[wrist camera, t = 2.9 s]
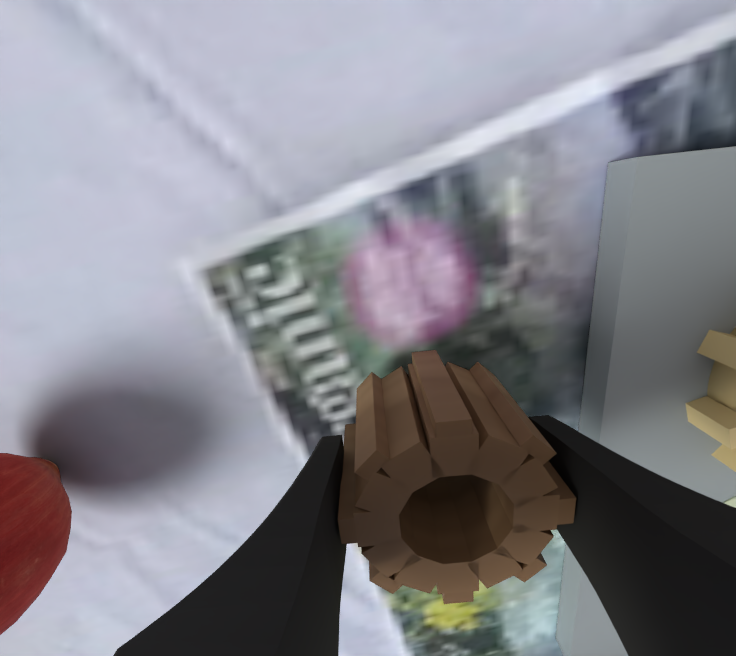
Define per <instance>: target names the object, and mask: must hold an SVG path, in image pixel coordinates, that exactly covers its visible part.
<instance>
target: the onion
mask: <svg viewBox="0 0 736 656" xmlns="http://www.w3.org/2000/svg"><path fill="white" fill-rule="evenodd" d="M71 514H72V511H71V506H70V502H69V497H68V495H67V493H66V491H65V489H64V487H63V485H62V483H61V479H60V472H59V469H58V467H57V466H56V464H54V463H53V462H51V461H49V460H45V459H42V458H37V457H24V456H19V455H13V454H8V453H0V635H1V634H2V633H3V632H4V631H6V630H7V629H8V628H9V627H10V626H12V625H13V624H14V623H15V622H16V621H17V620H18V619H19V618H20V617H21V615H22V614H23V613H24V612H25V611H26V610H27V609H28V607H29V606H30V605H31V604H32V603H33V602H34V601H35V600H36V598H37V597H38V596H39V595H40V593H41V592H42V590H43V589H44V587H45V586H46V584H47V583H48V581H49V580H50V578H51V577H52V575H53V573H54V572H55V570H56V568H57V566H58V565H59V563H60V561H61V560H62V558H63V556H64V555H65V553H66V550H67V545H68V539H69V534H70V529H71Z"/></svg>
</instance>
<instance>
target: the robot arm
mask: <svg viewBox="0 0 736 656" xmlns="http://www.w3.org/2000/svg"><path fill="white" fill-rule="evenodd" d="M528 418H529V419H530V420H531V422H532V423H533V424H534V426H535V427H536V428H537V429H538V431H539V432H540V433H541V434H542V436H543V437H544V438H545V439H546V441H547V442H548V443H549V444H550V446H551V447H552V448H553V449H554V451H555V452H556V453H557V454H556V455H554V456H553V457H552V458H551V459H550V460H549V462H550V463H551V465H552V466H553V467H554V469H555V470H556V471H557V473H558V474H559V475H560V477H561V478H562V479H563V481H564V482H565V484H566V485H567V486H568V488H569V489H570V490H571V492H572V493H573V494H574V496H575V497H576V505H575V514H574V522H573V523H571V524H560V525H557V530H558V531H559V533H560V534H561V536H562V538H563V539H564V541H565V542H566V544H567V546H568V547H569V549H570V550H571V552H572V554H573V555H574V557H575V558H576V560H577V562H578V563H579V565H580V566H581V568H582V569H583V571H584V573H585V574H586V576H587V578H588V579H589V581H590V583H591V585H592V586H593V588H594V590H595V591H596V593H597V595H598V597H599V599H600V601H601V603H602V605H603V607H604V609H605V610H606V612H607V614H608V616H609V618H610V620H611V622H612V624H613V626H614V628H615V630H616V632H617V634H618V636H619V638H620V640H621V642H622V644H623V646H624V648H625V650H626V652H627V654H628V656H736V508H735V507H732V506H730V505H727V504H725V503H722V502H720V501H717V500H715V499H712V498H710V497H707V496H705V495H703V494H700V493H698V492H696V491H694V490H691V489H689V488H687V487H684V486H682V485H680V484H678V483H675V482H673V481H671V480H669V479H667V478H665V477H662V476H660V475H658V474H656V473H654V472H652V471H650V470H648V469H646V468H644V467H642V466H640V465H638V464H636V463H634V462H632V461H631V460H629V459H627V458H625V457H623V456H621V455H619V454H617V453H615V452H614V451H612V450H610V449H608V448H606V447H605V446H603V445H601V444H599V443H597V442H596V441H594V440H592V439H590V438H589V437H587V436H585V435H583V434H582V433H580V432H578V431H576V430H575V429H573V428H571V427H569V426H567V425H566V424H564V423H562V422H560V421H558V420H557V419H555V418H553V417H551V416H549V415H545V416H534V417H528ZM343 460H344V447H343V440H342V435H336V436H326V437H322V438H321V439H320V441H319V442H318V444H317V446H316V448H315V449H314V451H313V453H312V455H311V456H310V458H309V459H308V461H307V463H306V464H305V466H304V467H303V469H302V470H301V472H300V473H299V475H298V476H297V478H296V479H295V481H294V482H293V484H292V485H291V487H290V488H289V489H288V491H287V492H286V493H285V495H284V496H283V497H282V499H281V500H280V501H279V503H278V504H277V505H276V507H275V508H274V509H273V511H272V512H271V513H270V514H269V515H268V517H267V518H266V519H265V520H264V521H263V523H262V524H261V525H260V526H259V527H258V528H257V529H256V531H255V532H254V533H253V534H252V535H251V536H250V537H249V538H248V539H247V540H246V541H245V542H244V543H243V545H242V546H241V547H240V548H239V549H238V550H237V551H236V552H235V553H234V554H233V555H232V556H231V557H230V558H229V559H227V560H226V561H225V562H224V563H223V564H222V565H221V566H220V567H219V568H218V569H217V570H216V571H215V572H214V573H213V574H212V575H211V576H209V577H208V578H207V579H206V580H205V581H204V582H203V583H201V584H200V585H199V586H198V587H197V588H196V589H194V590H193V591H192V592H191V593H190V594H189V595H187V596H186V597H185V598H184V599H183V600H181V601H180V602H179V603H178V604H176V605H175V606H174V607H173V608H171V609H170V610H169V611H168V612H166V613H165V614H164V615H162V616H161V617H160V618H158V619H157V620H156V621H154V622H153V623H152V624H150V625H149V626H148V627H147V628H145V629H144V630H143V631H141V632H140V633H139V634H137V635H136V636H135V637H133V638H132V639H131V640H129V641H128V642H127V643H125V644H124V645H122V646H121V647H120V648H118V649H117V651H116V652H115V654H114V656H338V644H339V614H340V600H341V590H342V581H343V572H344V563H345V554H346V545H347V544H342V542H341V536H340V530H339V524H338V510H339V498H340V485H341V479H342V473H343Z"/></svg>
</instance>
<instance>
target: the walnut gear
mask: <svg viewBox="0 0 736 656" xmlns="http://www.w3.org/2000/svg"><path fill="white" fill-rule="evenodd" d="M408 373H409V376H408V374H407V373H406V372H405V370H404V369H403V368H402V366H401V367H399V368H398V369H396V370H395V371H393V372H392V373H390V374H389V375H387V376H385V377H384V378H382V379H381V378H379V377H378V376H377V375H375V374H374V373H373V372H371V374H370V375H369V376H368V377H367V378H366V379H365V380H364V381H363V383H362V384H361V385H360V386H359V387H358V388H357V404H356V424H346V425H345V435H344V460H343V473H342V479H341V485H340V498H339V510H338V524H339V530H340V536H341V542H342V544H349V543H358V547H362V554H363V555H364V556H365V557H366V558H367V559H368V560H369V573H370V581H371V582H373V583H375V584H376V585H378V586H380V587H382V588H383V589H385V590H387V591H389V592H390V593H392V594H393V593H394V592H395V591H397V590H398V589H399V588H400V587H401V586H402V585H404V586H407V587H411V588H414V589H417V590H420V591H424V592H427V593H430V592H431V591H432V589H433V588H434V587H435V585H436V586H437V591H438V594H442V596H443V601H444V604H449V603H461V602H472V601H473V591H479V580H480V581H481V582H482V583H483V584H484V585H485V586H486V588H489V587H491V586H493V585H495V584H497V583H499V582H501V581H503V580H505V579H507V578H509V577H511V576H515V577H517V578H519V579H520V580H522V581H523V582H526V581H527V580H528V579H530V578H531V577H532V576H533V575H535V574H536V573H537V572H539V571H540V570H541V569H543V568H544V567H545V566H547V564H546V562H545V560H544V558H543V556H542V554H541V551H542V550H543V549H544V548H545V547H546V545H547V544H548V543H549V542H550V540H551V539H552V538H553V537H554V536H553V534H552V532H551V531H550V530H555V529H557V525H560V524H571V523H573V522H574V514H575V505H576V497H575V496H574V494H573V493H572V492H571V490H570V489H569V488H568V486H567V485H566V484H565V482H564V481H563V479H562V478H561V477H560V475H559V474H558V473H557V471H556V470H555V469H554V467H553V466H552V465H551V463H550V462H549V460H550V459H551V458H552V457H553V456H554V455H556V454H557V453H556V452H555V451H554V449H553V448H552V447H551V446H550V444H549V443H548V442H547V441H546V439H545V438H544V437H543V436H542V434H541V433H540V432H539V431H538V429H537V428H536V427H535V426H534V424H533V423H532V422H531V420H530V419H529V418H528V417H527V415H526V414H525V413H524V412H523V410H522V409H521V408H520V407H519V405H518V404H517V403H516V402H515V400H514V399H513V398H512V397H511V395H510V394H509V393H508V392H507V390H506V389H505V388H504V387H503V385H502V384H501V383H500V382H499V380H498V379H497V378H496V377H495V375H494V374H492V373H491V372H490V371H489V370H487V369H486V368H485V367H484V366H482V365H481V364H480V363H479V362H477V363H476V364H475V365H474V366H473V367H472V368H471V369H470V370H466V369H464V368H462V367H459V366H457V365H455V364H452V363H450V362H447V364H446V365H445V366H444V364H443V363H442V361H441V359H440V357H439V355H438V353H437V351H436V350H430V351H420V352H412V364H408Z"/></svg>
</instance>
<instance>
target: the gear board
mask: <svg viewBox="0 0 736 656" xmlns="http://www.w3.org/2000/svg"><path fill="white" fill-rule="evenodd" d="M578 432H580V433H582V434H583V435H585V436H587V437H589V438H590V439H592V440H594V441H596V442H597V443H599V444H601V445H603V446H605V447H606V448H608V449H610V450H612V451H614V452H615V453H617V454H619V455H621V456H623V457H625V458H627V459H629V460H631V461H632V462H634V463H636V464H638V465H640V466H642V467H644V468H646V469H648V470H650V471H652V472H654V473H656V474H658V475H660V476H662V477H665V478H667V479H669V480H671V481H673V482H675V483H678V484H680V485H682V486H684V487H687V488H689V489H691V490H694V491H696V492H698V493H700V494H703V495H705V496H707V497H710V498H712V499H715V500H717V501H720V502H722V503H725V504H727V505H730V506H732V507H735V508H736V146H734V147H725V148H716V149H707V150H698V151H689V152H679V153H670V154H661V155H652V156H643V157H635V158H630V159H624V160H619V161H614V162H608V169H607V178H606V187H605V196H604V205H603V214H602V223H601V232H600V241H599V250H598V259H597V268H596V277H595V286H594V295H593V304H592V313H591V322H590V331H589V340H588V349H587V358H586V367H585V376H584V385H583V394H582V403H581V412H580V421H579V430H578ZM555 638H556V640H557V642H558V644H559V647H560V649H561V651H562V653H563V656H628V654H627V652H626V650H625V648H624V646H623V644H622V642H621V640H620V638H619V636H618V634H617V632H616V630H615V628H614V626H613V624H612V622H611V620H610V618H609V616H608V614H607V612H606V610H605V609H604V607H603V605H602V603H601V601H600V599H599V597H598V595H597V593H596V591H595V590H594V588H593V586H592V585H591V583H590V581H589V579H588V578H587V576H586V574H585V573H584V571H583V569H582V568H581V566H580V565H579V563H578V562H577V560H576V558H575V557H574V555H573V554H572V552H571V550H570V549H569V547H568V546H567V544H566V547H565V556H564V565H563V574H562V583H561V592H560V601H559V610H558V619H557V628H556V637H555Z"/></svg>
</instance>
